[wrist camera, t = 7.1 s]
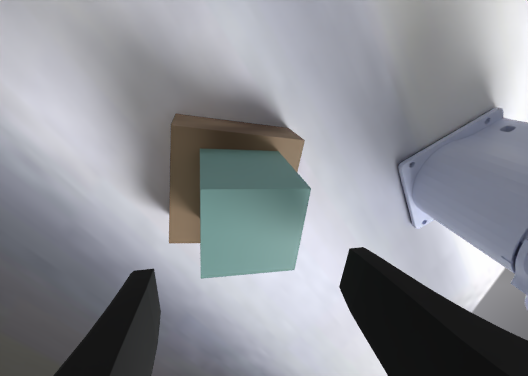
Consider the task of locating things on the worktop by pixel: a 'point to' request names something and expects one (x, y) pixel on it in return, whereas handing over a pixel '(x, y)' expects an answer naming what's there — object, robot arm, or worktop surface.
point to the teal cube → (249, 212)
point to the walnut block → (213, 137)
